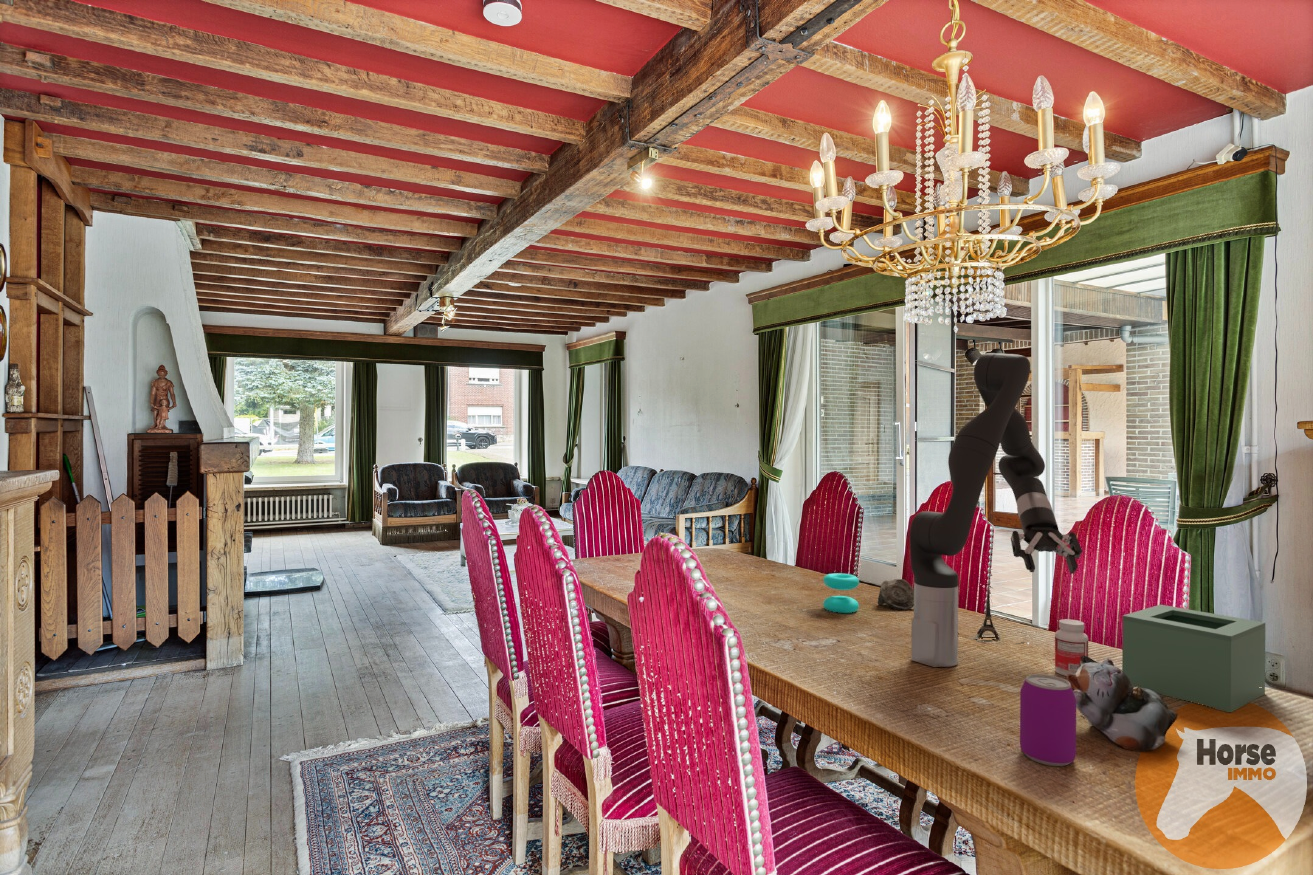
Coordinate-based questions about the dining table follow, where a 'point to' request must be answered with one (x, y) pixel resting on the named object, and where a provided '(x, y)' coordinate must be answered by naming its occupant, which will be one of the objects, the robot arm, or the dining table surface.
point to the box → (1195, 656)
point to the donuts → (841, 602)
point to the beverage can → (1048, 720)
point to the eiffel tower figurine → (987, 625)
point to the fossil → (896, 594)
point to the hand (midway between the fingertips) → (1052, 571)
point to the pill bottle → (1070, 646)
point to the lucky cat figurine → (1120, 706)
